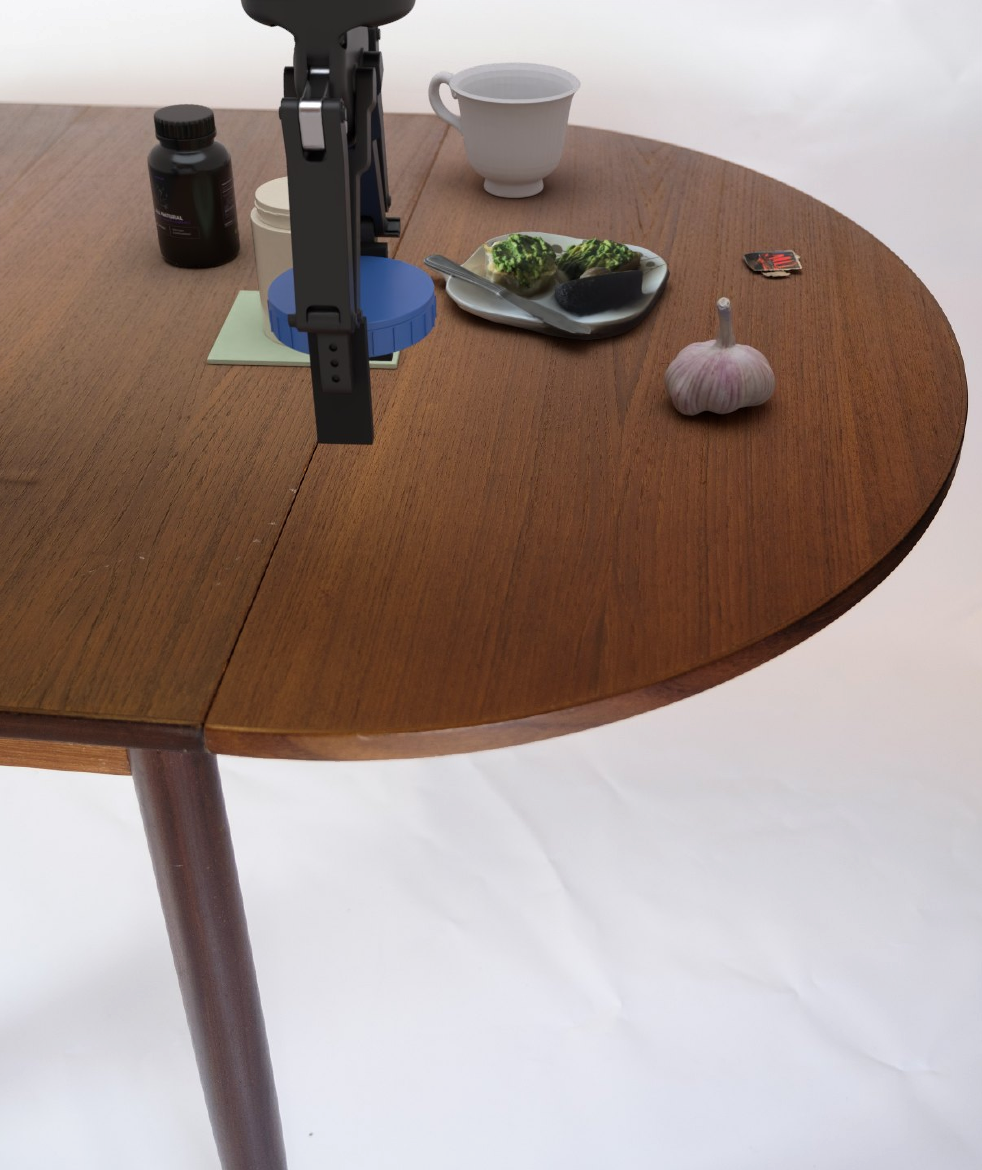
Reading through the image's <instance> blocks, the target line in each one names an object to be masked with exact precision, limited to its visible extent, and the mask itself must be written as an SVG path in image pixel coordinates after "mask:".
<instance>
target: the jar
mask: <svg viewBox="0 0 982 1170" xmlns="http://www.w3.org/2000/svg"><path fill="white" fill-rule="evenodd" d="M253 204H254V207H253V208H252V209H251V211H250V214H249V215H250V216H249V218H250V225H251V236H252V244H253V253H254V261H255V269H256V271H255V272H256V279H257V288H258V291H259V298H260V306H261V315H262V324H263V331H264V333H265V334H266V336H267V337H268V338H269V339H271V340H272V341H274V342H276V343H278V344H281V345H284V344H283V343H281V342H280V341H278V339H277V338H276V337H275V335H274V333H273V332H271V326H270V321H269V312H268V303H267V300H268V290H269V287H270V285H271V283H272V282H273V281H274V280H275V279H276V278H277V277H278V276H279V275H281V274H282V273H284V272H285V271H287V270H289V269H291V268H293V260H292V244H291V228H290V212H289V196H288V179H287V176H283V177H279V178H275V179H271V180H269V181H266V182H264V183H263V184H261V185H260V186H258V188H256V190H255V192H254V200H253ZM284 346H286V345H284Z"/></svg>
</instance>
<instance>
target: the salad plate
mask: <svg viewBox="0 0 982 1170" xmlns="http://www.w3.org/2000/svg"><path fill="white" fill-rule="evenodd" d="M423 264H424V265H425V267H427V268H428V269H430V270H431V271H433V272H435V273H436V274H438V275H440V276H441V277H442V278H443V279H444V280H445V292H446V293H447V295H448V297H450V299H452V301H453V302H455V303H456V304H457V306H458V307H459V308H460V309H461V310H463V311H465V312H468V313H470V314H472V315H475V316H477V317H480V318H482V319H484V320H487V321H489V322H492V323H497V324H501V325H505V326H510V327H515V328H520V329H524V330H528V331H532V332H536V333H540V334H544V335H547V336H552V337H558V338H564V339H572V340H583V341H587V340H588V341H590V340H601V339H608V338H612V337H616V336H619V335H621V334H625V333H627V332H630V331H631V330H633V329H634V328H636V327H637V326H638V325H639V324H640V323H641V322H642V320H643V319H645V318H646V316H648V314H649V313H650V311H652V309H653V308H654V307H655V306H656V303H657V302H658V300H659V299H660V296H661V295H662V294H663V292H664V290H665V288H666V286H667V284H668V281H669V278H670V275H671V272H670V269H669V268H668V264H667V262H666V261H665V260H664V258H662V257H661V256H660V255H658V254H656V253H655V252H653V251H651V250H650V249H647V248H644V247H642V246H638V245H633V244H628V243H627V244H626V243H621V242H615V241H614V240H611V239H604V240H600V239H597V237H595V238H590V239H584V238H576V237H571V236H568V235H560V234H555V233H547V232H540V231H521V232H514V233H508V234H503V235H500V236H496V237H493V238H489V240H487V241H485V242H483V243H482V245H480V246H479V247H478V248H477V249H476V251H475V252H474V253H472V255H471V256H470V257H469V258H468V259H467V260H466V261H465V262H464V263H463V264H459V263H456V262H455V261H453V260H452V259H449V258H448V257H446V256H444V255H442V254H430V255H428V256H425V257H424V258H423Z"/></svg>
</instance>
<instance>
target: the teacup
mask: <svg viewBox="0 0 982 1170" xmlns="http://www.w3.org/2000/svg"><path fill="white" fill-rule="evenodd" d="M442 84H445V85H446V86H448V87H449V89H450V94H451V97H452V99H454V100H457V104H458V107H459V109H458V110H459V115H460V117H459V116H458V115H456V114H455V113H453V112H452V111H450V110H449V108H448V107H446V105H445V104H444V102H443V100H442V99H441V95H440V87H441V85H442ZM580 88H581V81H580V79H579V78H578V77H577V76H576V75H575V74H574V73H572V72H570V71H568V70H566V69H563V68H560V67H556V66H553V65H547V64H542V63H533V62H497V63H496V62H495V63H486V64H481V65H475V66H472V67H468V68H466V69H462V70H460V71H459V72H457V73H456V74H454V73H453V72H451V71H447V70H445V71H444V70H442V71H439V72H436V73H435V74H434V75H433V76H432V77H431V80H430V81H429V85H428V91H427V93H428V95H427V96H428V100H429V101H428V102H429V105H430V107H431V109H432V110H433V112H434V113H435V115H436V116H437V117H438V119H440V120H442V121H443V122H445V123H446V124H448V125H449V126H451V127H453V128H454V129H456V130H457V132H459V133H460V135H461V136H462V138H463V146H464V151H465V155H466V158H467V161H468V163H469V166H470V167H471V169H472V170H473V171H474V172H475V173H477V175H479V176H481V177H483V178H484V183H483V188H484V190H485V191H486V192H487V193H489V194H490V195H492V196H495V197H500V198H507V199H521V198H529V197H533V196H535V195H538V194H539V193H541V192H542V191H543V189H544V181H543V179H544V178H546V177H548V176H549V175H550V174H552V173H553V172H554V171H555V170H556V169H557V167H558V165H559V164H560V162H561V159H562V156H563V152H564V148H565V142H566V138H567V137H566V136H567V130H568V124H569V117H570V111H571V106H572V102H573V98H574V95H575V94H576V92H578V91H579V89H580Z"/></svg>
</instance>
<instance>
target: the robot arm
mask: <svg viewBox="0 0 982 1170" xmlns="http://www.w3.org/2000/svg"><path fill="white" fill-rule="evenodd" d="M416 1H417V0H240V3H241V4H240V5H241V7H242V9H243V11H244V13H245V14H246V16H248V17H249V18H250V19H251V20H253V21H254V22H256V23H259V24H261V25H264V26H267V27H269V28H275V27H279V28H282V29H283V30H285V31H287V32H288V33H290V34H291V35H292V36H293V41H294V47H293V56H292V65H291V66H289V65H285V66H284V68H283V73H282V74H283V75H282V78H283V79H282V81H283V83H282V84H283V97H281V98H280V99H281V100H280V106H278V118H279V120H280V123H281V130H282V138H283V146H284V153H285V162H286V163H285V164H286V177H287V179H288V196H289V212H290V228H291V244H292V260H293V276H294V292H295V308H296V312H295V314H287V315H288V324H289V327H296V329H297V330H298V332H307V335H308V346H309V356H310V366H309V367H310V375H311V377H310V378H311V388H312V397H313V406H314V419H315V428H316V429H315V430H316V439H317V444H318V445H354V446H355V445H357V446H359V445H360V446H373V444H374V440H375V430H374V429H375V428H374V414H373V399H372V381H371V368H370V365H369V361H392V359H393V353H390V354H386V355H381V356H376V357H369V350H368V334H367V319H366V317H365V316H363V311H362V310H361V291H360V256H375V257H384V258H389V247H388V246H389V245H388V242H387V241H379V239H378V238H382V239H383V238H384V239H386V238H387V239H390V238H391V239H400V238H401V231H402V230H401V229H402V227H401V226H402V225H401V224H402V221H401V216H400V217H399V216H398V217H397V216H396V217H395V216H393V217H392V216H387V213H389V212H390V208H391V206H392V196H391V195H390V187H389V175H388V173H389V172H388V163H387V148H386V136H385V135H386V134H385V123H384V120H385V119H384V106H383V93H382V87H383V78H384V70H385V69H384V60H383V52H382V50H381V51H380V41H381V38H382V36H381V35H382V34H381V33H382V31H381V28H379V27H383V26H386V25H389V24H392V23H394V22H397V21H400V20H401V19H403V18H404V17H407V15H409V14H410V13H411V11H412V10H413V9H414V7H415V4H416Z"/></svg>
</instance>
